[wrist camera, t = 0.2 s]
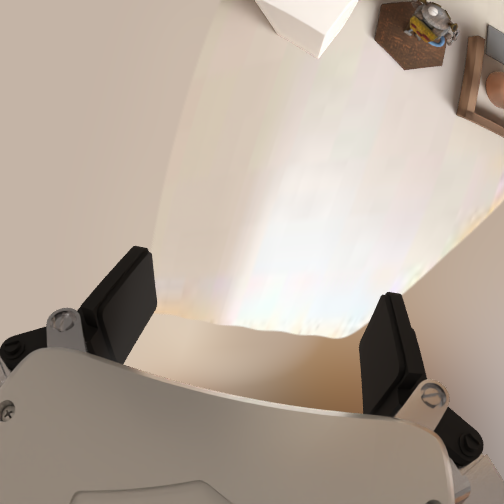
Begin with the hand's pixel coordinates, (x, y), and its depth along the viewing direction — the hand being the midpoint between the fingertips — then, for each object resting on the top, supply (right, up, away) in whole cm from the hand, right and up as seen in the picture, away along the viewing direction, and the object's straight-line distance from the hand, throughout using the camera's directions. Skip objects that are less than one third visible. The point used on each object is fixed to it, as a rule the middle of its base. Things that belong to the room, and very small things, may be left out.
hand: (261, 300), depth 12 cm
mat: (+35, +30, +11) cm, 48 cm away
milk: (+7, +29, +18) cm, 35 cm away
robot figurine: (+20, +29, +15) cm, 38 cm away
